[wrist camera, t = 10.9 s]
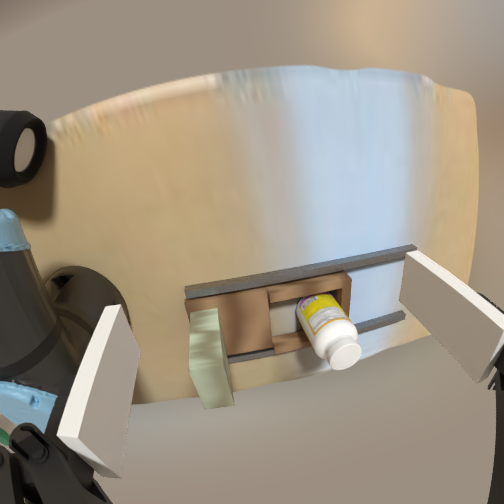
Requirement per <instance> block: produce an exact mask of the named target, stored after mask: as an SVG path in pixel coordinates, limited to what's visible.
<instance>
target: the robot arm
mask: <svg viewBox="0 0 504 504" xmlns="http://www.w3.org/2000/svg"><path fill="white" fill-rule="evenodd" d="M30 248H31V246H30V244H29V243H28V242H27V239H26V237H25V234H24V232H23V229H22V227H21V224H20V221H19V218H18V217H17V215H16V214H15V213H14V212H13V211H11V210H9V209H0V413H1V414H2V415H4V416H5V417H6V418H7V419H8V420H10V421H11V422H13V423H14V424H16V425H17V427H16V428H14V430H13V431H12V433H11V434H10V438H9V448H10V449H11V450H12V451H14V452H15V453H10V452H9V451H8V450H7V449H6V448H5V447H3V446H1V445H0V504H113V503H112V502H111V501H110V499H109V498H108V497H107V495H106V494H105V493H104V491H103V490H102V488H101V487H100V485H99V484H98V482H97V481H96V480H95V479H94V478H93V474H94V470H95V471H96V472H97V473H99V474H100V475H101V476H103V477H110V478H121V479H122V474H123V462H124V454H125V446H126V437H127V430H128V423H129V416H130V410H131V403H132V397H133V391H134V386H135V380H136V375H137V370H138V365H139V360H140V355H141V351H140V349H139V347H138V344H137V342H136V340H135V337H134V335H133V333H132V330H131V328H130V326H129V323H128V312H127V307H126V304H125V302H124V299H123V297H122V296H121V294H120V292H119V291H118V290H117V288H116V287H115V286H114V285H113V284H112V283H111V282H110V281H109V280H108V279H107V278H105V277H104V276H103V275H101V274H99V273H98V272H96V271H94V270H91V269H89V268H85V267H81V266H68V267H64V268H61V269H59V270H58V271H56V272H55V273H54V274H53V275H52V276H51V277H50V278H49V279H48V281H47V282H46V283H45V285H44V283H43V281H42V278H41V276H40V274H39V271H38V269H37V266H36V264H35V261H34V258H33V256H32V253H31V250H30ZM399 301H400V302H401V303H402V304H403V305H404V306H405V307H406V308H407V309H408V310H409V311H410V312H411V313H412V314H413V315H414V316H415V317H416V318H417V319H418V320H419V321H420V322H421V323H422V324H423V326H424V327H425V328H426V329H427V330H428V331H429V332H430V333H431V334H432V335H433V336H434V337H435V338H436V339H437V340H438V341H439V342H440V343H441V344H442V346H443V347H445V349H446V350H447V351H448V352H449V353H450V354H451V355H452V356H453V357H454V359H455V360H456V361H457V362H458V363H459V364H460V365H461V366H462V368H463V369H464V370H465V371H466V372H467V373H468V374H469V375H470V377H471V378H472V379H473V380H474V381H475V383H476V384H478V383H480V382H481V381H483V380H484V379H486V378H487V377H488V376H489V374H490V372H491V371H492V369H493V367H494V366H495V367H496V368H497V371H496V373H495V375H494V377H493V378H492V380H491V382H490V383H489V385H488V389H490V388H491V386H492V385H493V383H494V382H495V386H494V387H493V390H496V442H495V443H496V444H495V456H494V467H493V474H492V481H491V488H490V493H489V498H488V503H487V504H504V311H502V310H501V309H500V308H499V307H496V305H495V304H494V303H493V302H490V300H489V299H488V298H486V297H485V296H484V295H482V294H480V293H478V292H476V291H474V290H472V289H471V288H470V287H468V286H467V285H466V284H464V283H463V282H462V281H460V280H459V279H458V278H456V277H455V276H454V275H452V274H451V273H449V272H448V271H447V270H445V269H444V268H442V267H441V266H440V265H438V264H437V263H435V262H434V261H432V260H431V259H429V258H428V257H427V256H425V255H424V254H422V253H421V252H419V251H418V250H416V251H412V252H407V253H406V256H405V264H404V271H403V278H402V285H401V291H400V297H399ZM24 498H25V502H24Z"/></svg>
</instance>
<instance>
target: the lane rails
mask: <svg viewBox="0 0 504 504" xmlns="http://www.w3.org/2000/svg"><path fill="white" fill-rule="evenodd" d="M416 250H417V247H415V246H414V245H412V244H411V245H406V246H402V247H397V248H392V249H387V250H382V251H377V252H372V253H367V254H362V255H357V256H352V257H347V258H342V259H337V260H332V261H326V262H321V263H316V264H311V265H305V266H300V267H294V268H289V269H284V270H278V271H272V272H267V273H261V274H256V275H250V276H244V277H238V278H232V279H227V280H221V281H215V282H209V283H203V284H197V285H190V286H185V295H186V299H189V298H195V297H201V296H207V295H213V294H219V293H225V292H231V291H237V290H243V289H248V288H254V287H260V286H265V285H270V284H276V283H281V282H287V281H292V280H297V279H302V278H307V277H312V276H317V275H322V274H327V273H332V272H337V271H342V270H347V269H351V268H356V267H361V266H365V265H370V264H375V263H379V262H384V261H388V260H393V259H397V258H401V257H405V256H406V253H407V252H412V251H416ZM405 316H406V314H405V313H404V312H403V311H402V310H401V311H398V312H395V313H391V314H388V315H385V316H382V317H378V318H375V319H372V320H368V321H365V322H361V323H358V324H354V326H355V327H356V329H357V333H358V334H360V333H363V332H367V331H370V330H373V329H376V328H379V327H383V326H386V325H389V324H392V323H395V322H398V321H401V320H404V319H405ZM310 347H311V346H310ZM306 348H307V347H306ZM301 349H303V348H301ZM297 350H299V349H297ZM293 351H294V350H293ZM288 352H290V351H288ZM283 353H285V352H283ZM279 354H281V353H279ZM271 355H276V354H275V352H274V349H273V347H271V348H266V349H261V350H256V351H250V352H245V353H239V354H233V355H227V357H228V363H234V362H240V361H245V360H251V359H256V358H261V357H266V356H271Z"/></svg>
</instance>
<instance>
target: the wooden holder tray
mask: <svg viewBox="0 0 504 504" xmlns="http://www.w3.org/2000/svg"><path fill="white" fill-rule="evenodd" d="M351 282H352V279H351V278H350V277H349V276H348V275H347V273H346V272H345V271H344V270H342V271H337V272H332V273H327V274H322V275H317V276H312V277H307V278H302V279H297V280H292V281H287V282H281V283H276V284H270V285H265V286H260V287H254V288H248V289H243V290H237V291H231V292H225V293H219V294H213V295H207V296H201V297H195V298H189V299H185V307H186V311H187V314H188V318H189V321H190V343H189V371H190V374H191V377H192V379H193V382H194V384H195V387H196V390H197V392H198V395H199V397H200V399H201V402H202V404H203V407H204V409H211V408H219V407H226V406H232V405H234V399H233V392H232V385H231V379H230V372H229V365H228V357H227V355H233V354H239V353H245V352H250V351H256V350H261V349H266V348H271V347H273V349H274V352H275V354H279V353H283V352H288V351H293V350H297V349H301V348H306V347H310V346H312V345H311V343H310V341H309V339H308V337H307V335H306V333H305V331H304V330H303V331H298V332H294V333H289V334H284V335H280V336H275V337H272V334H271V323H270V313H269V303H268V298H269V301H270V303H273V302H278V301H283V300H288V299H293V298H298V297H303V296H308V295H312V294H317V293H322V292H326V291H331V290H334V299H335V300H336V301H337V303H338V304H339V305H340V307H341V308H342V309H343V311H344V312H345V313H346V315H347V316H348V318H349V309H350V296H351Z"/></svg>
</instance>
